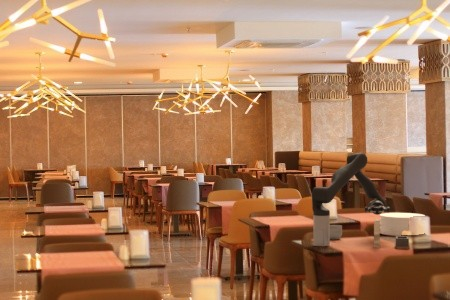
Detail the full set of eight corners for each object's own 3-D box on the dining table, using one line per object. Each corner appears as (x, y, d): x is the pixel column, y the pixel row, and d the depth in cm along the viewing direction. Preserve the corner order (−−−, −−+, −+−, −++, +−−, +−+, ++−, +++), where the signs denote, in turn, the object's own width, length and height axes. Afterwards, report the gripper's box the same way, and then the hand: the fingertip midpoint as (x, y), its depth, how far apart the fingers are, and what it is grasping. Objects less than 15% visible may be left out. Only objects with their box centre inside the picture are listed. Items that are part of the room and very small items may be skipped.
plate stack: (422, 230, 583) (422, 212, 583) (427, 236, 555) (427, 217, 555) (378, 230, 586) (378, 212, 586) (381, 235, 558) (381, 217, 558)
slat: (379, 247, 508) (379, 220, 508) (373, 247, 509) (374, 220, 508) (379, 246, 513) (379, 219, 513) (374, 246, 514) (374, 219, 513)
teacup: (337, 240, 536) (337, 227, 536) (320, 239, 542) (320, 225, 542) (347, 237, 548) (347, 224, 548) (330, 236, 554) (330, 223, 554)
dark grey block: (409, 248, 503) (409, 238, 503) (395, 248, 504) (395, 238, 504) (409, 246, 513) (409, 236, 513) (394, 245, 514) (394, 236, 514)
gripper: (365, 201, 538) (364, 203, 522) (389, 201, 536) (389, 204, 520) (365, 213, 539) (364, 216, 523) (389, 214, 536) (389, 217, 520)
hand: (377, 210), depth 521 cm, fingers open, 8 cm apart
